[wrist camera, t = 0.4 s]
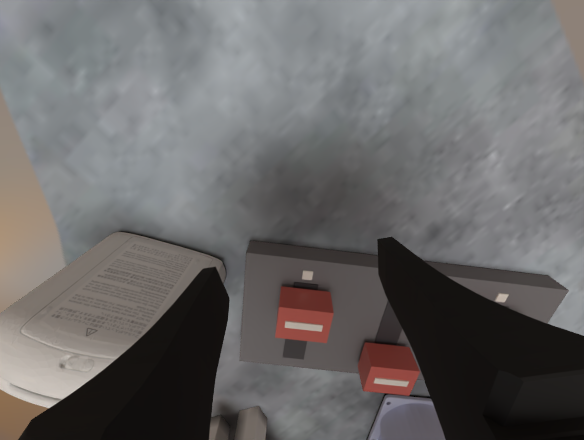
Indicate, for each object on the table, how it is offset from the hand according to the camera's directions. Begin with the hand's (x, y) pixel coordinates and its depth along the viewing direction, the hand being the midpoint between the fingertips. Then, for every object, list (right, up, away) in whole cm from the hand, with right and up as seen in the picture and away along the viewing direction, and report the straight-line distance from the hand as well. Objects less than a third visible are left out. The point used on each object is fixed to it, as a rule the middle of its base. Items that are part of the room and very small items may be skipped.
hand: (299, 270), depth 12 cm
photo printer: (-11, -1, +12) cm, 17 cm away
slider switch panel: (+8, -7, +14) cm, 17 cm away
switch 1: (+1, -5, +11) cm, 12 cm away
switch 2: (+8, -10, +13) cm, 18 cm away
